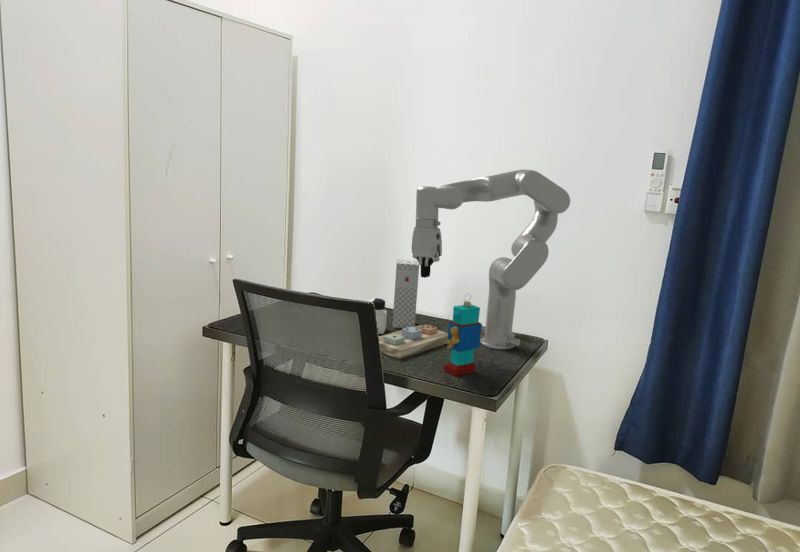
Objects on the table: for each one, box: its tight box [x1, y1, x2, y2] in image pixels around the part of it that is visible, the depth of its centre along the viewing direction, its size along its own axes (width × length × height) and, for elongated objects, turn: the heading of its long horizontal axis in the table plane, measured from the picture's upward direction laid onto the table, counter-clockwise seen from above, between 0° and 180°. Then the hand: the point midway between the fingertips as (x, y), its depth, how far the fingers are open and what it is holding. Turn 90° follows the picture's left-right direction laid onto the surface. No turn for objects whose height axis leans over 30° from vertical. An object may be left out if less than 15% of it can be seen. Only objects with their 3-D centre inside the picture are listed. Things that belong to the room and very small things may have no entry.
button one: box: [384, 334, 405, 346], centre depth 189 cm, size 5×5×3 cm
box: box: [392, 259, 420, 329], centre depth 217 cm, size 8×8×25 cm
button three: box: [418, 324, 438, 335], centre depth 203 cm, size 5×5×3 cm
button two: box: [401, 327, 422, 340], centre depth 196 cm, size 5×5×3 cm
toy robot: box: [443, 293, 484, 377], centre depth 173 cm, size 12×6×25 cm, turn 127°
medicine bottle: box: [368, 297, 388, 335], centre depth 209 cm, size 7×7×12 cm
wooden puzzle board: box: [378, 324, 448, 360], centre depth 196 cm, size 14×28×3 cm, turn 139°
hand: (425, 276), depth 194 cm, fingers closed
